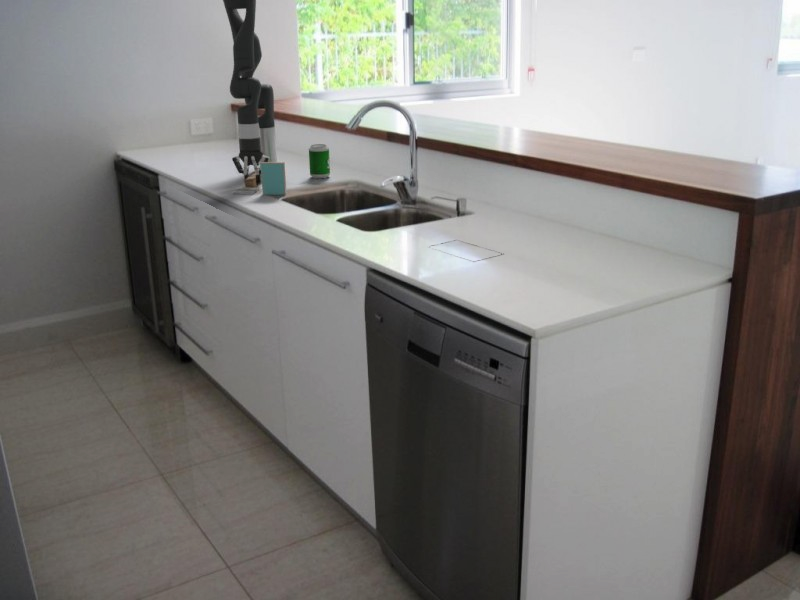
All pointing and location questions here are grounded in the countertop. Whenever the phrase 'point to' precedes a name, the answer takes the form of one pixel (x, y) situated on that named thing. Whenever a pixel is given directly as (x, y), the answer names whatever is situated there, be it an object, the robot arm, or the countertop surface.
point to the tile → (273, 178)
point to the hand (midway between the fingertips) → (253, 184)
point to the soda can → (319, 161)
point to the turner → (249, 186)
